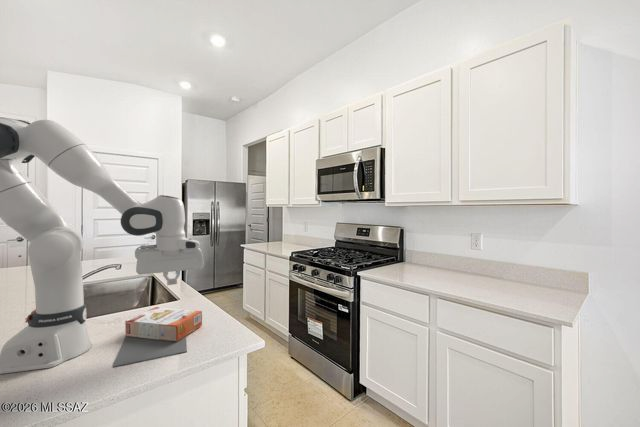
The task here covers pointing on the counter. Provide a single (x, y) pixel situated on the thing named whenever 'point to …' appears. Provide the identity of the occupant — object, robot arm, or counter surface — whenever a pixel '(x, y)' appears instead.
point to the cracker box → (163, 324)
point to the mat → (147, 349)
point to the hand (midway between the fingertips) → (172, 284)
